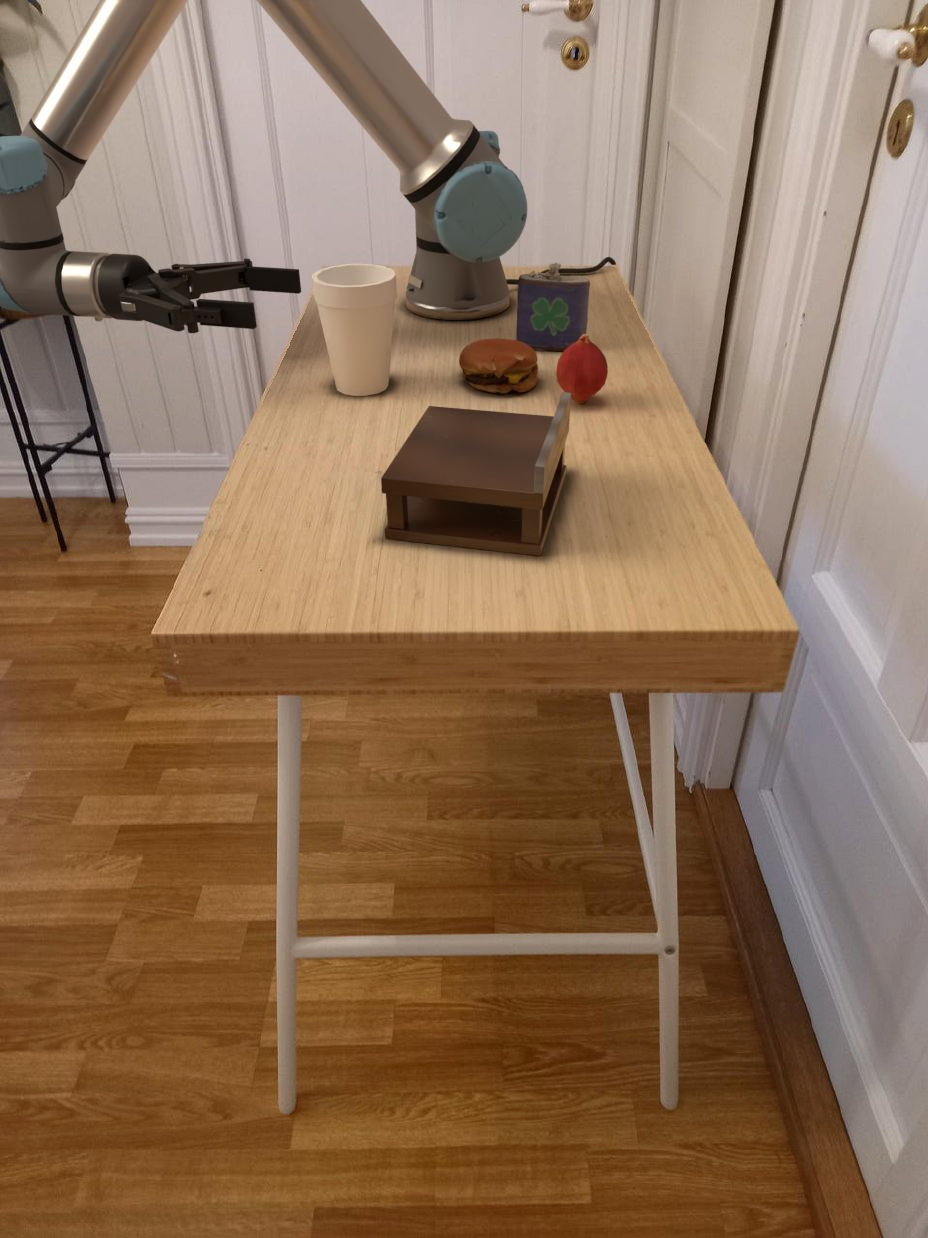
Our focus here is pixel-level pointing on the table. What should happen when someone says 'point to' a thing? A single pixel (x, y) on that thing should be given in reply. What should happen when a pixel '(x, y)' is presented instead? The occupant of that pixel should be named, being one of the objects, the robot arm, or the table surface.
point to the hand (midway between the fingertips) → (278, 297)
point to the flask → (551, 309)
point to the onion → (582, 369)
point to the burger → (499, 365)
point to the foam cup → (357, 324)
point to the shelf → (478, 479)
